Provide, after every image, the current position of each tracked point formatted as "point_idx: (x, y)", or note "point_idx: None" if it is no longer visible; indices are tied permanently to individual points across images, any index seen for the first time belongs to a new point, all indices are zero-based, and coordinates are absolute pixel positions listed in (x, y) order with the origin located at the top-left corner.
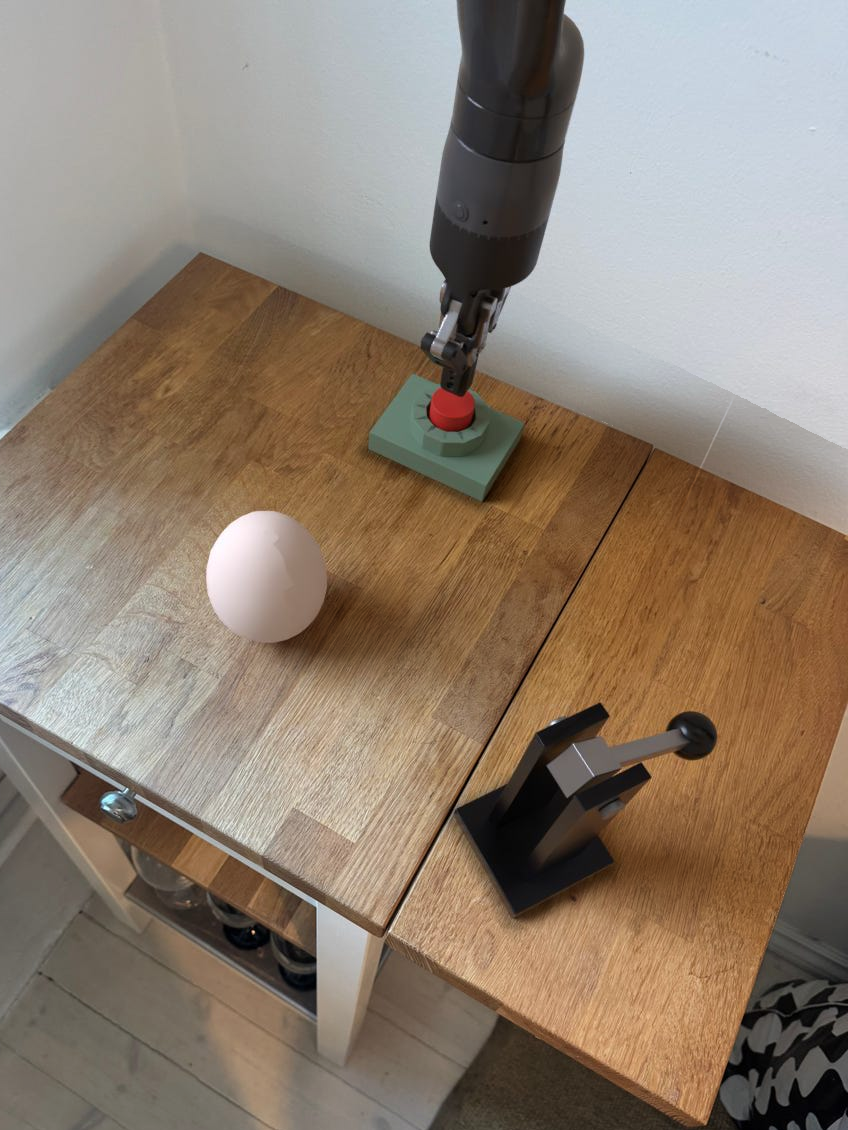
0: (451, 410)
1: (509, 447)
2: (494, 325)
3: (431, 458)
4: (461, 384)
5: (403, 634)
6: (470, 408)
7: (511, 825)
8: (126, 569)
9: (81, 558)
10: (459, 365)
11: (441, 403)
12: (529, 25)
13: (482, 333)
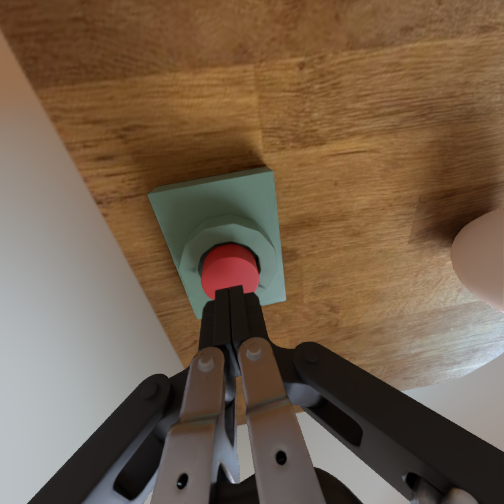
0: (245, 274)
1: (199, 184)
2: (153, 395)
3: (278, 243)
4: (247, 304)
5: (460, 127)
6: (225, 261)
7: None
8: (448, 317)
9: (447, 334)
10: (377, 390)
11: (244, 288)
12: None
13: (315, 479)
